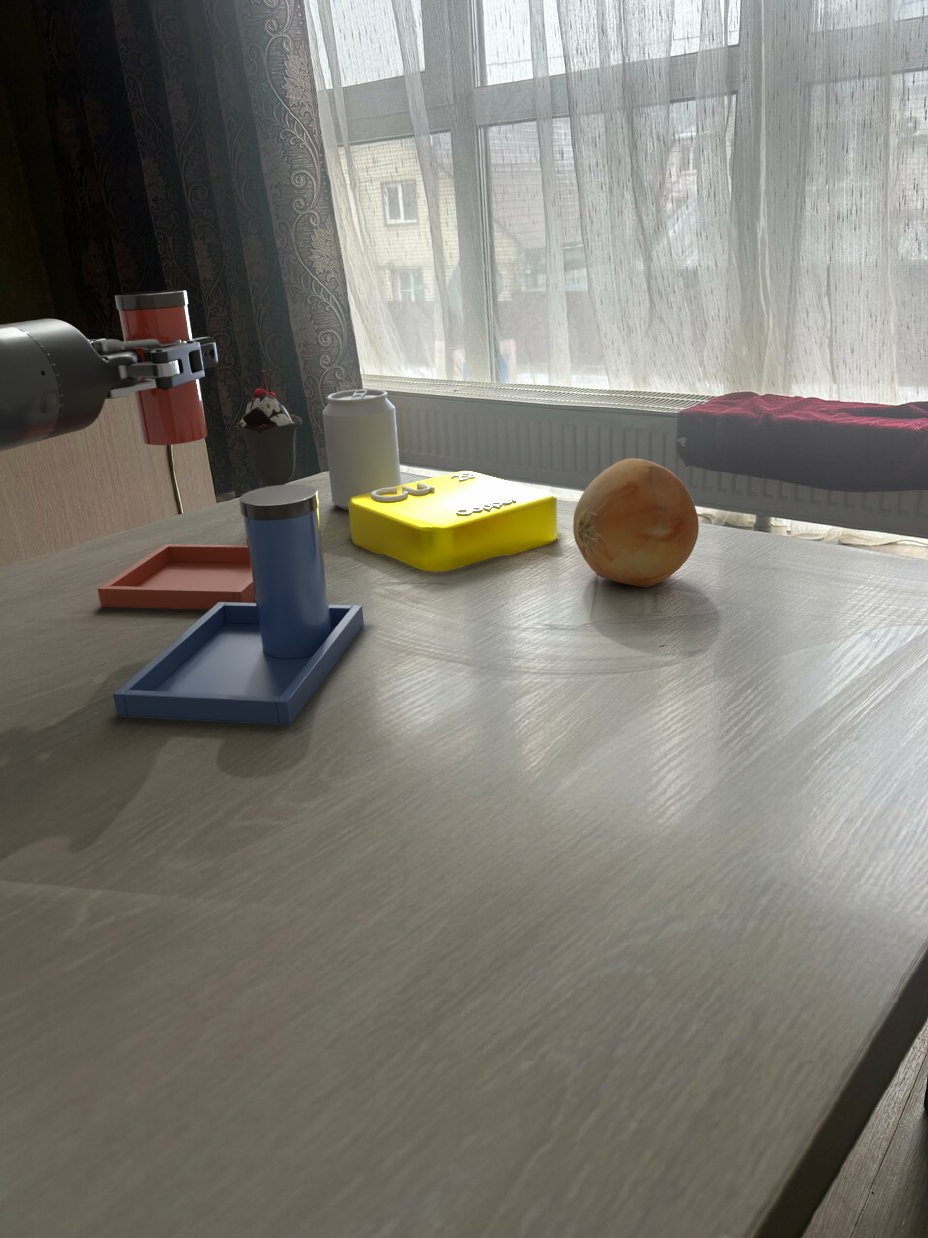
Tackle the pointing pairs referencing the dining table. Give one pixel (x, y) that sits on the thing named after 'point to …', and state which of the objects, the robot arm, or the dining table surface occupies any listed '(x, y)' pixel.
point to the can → (360, 444)
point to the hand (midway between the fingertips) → (183, 351)
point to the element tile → (453, 520)
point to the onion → (636, 523)
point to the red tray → (183, 578)
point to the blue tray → (233, 671)
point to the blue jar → (287, 569)
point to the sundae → (269, 437)
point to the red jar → (144, 317)
